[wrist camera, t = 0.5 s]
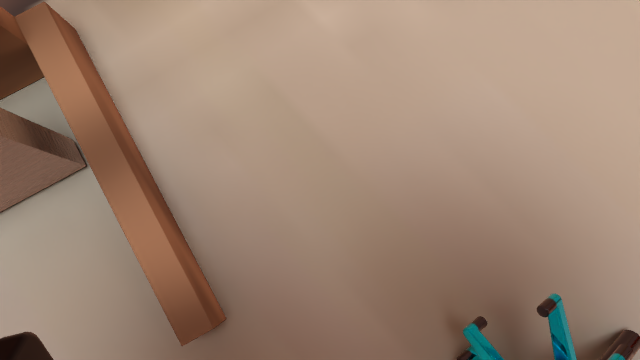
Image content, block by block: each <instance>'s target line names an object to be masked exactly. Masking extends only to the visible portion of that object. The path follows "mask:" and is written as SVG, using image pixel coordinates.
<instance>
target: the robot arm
mask: <svg viewBox="0 0 640 360" xmlns="http://www.w3.org/2000/svg"><path fill="white" fill-rule="evenodd" d="M0 360H53V358H52V357H51V355H50V354H49V352H48V351H47V349H46V348H45V346H44V345H43V344H42V342H41V341H40V339H39V338H38V337H37V335H35V334H34V333H31V332H23V333H19V334H15V335H11V336H7V337H4V338H1V339H0Z"/></svg>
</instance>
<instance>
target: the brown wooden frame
mask: <svg viewBox="0 0 640 360" xmlns="http://www.w3.org/2000/svg"><path fill="white" fill-rule="evenodd" d="M43 77H45V78H46V80H47V82H48V84H49V86H50V88H51V90H52V92H53V94H54V96H55V98H56V100H57V102H58V104H59V106H60V108H61V110H62V112H63V114H64V116H65V118H66V120H67V122H68V124H69V126H70V128H71V129H72V131H73V133H74V135H75V137H76V139H77V141H78V143H79V145H80V147H81V149H82V151H83V153H84V155H85V157H86V159H87V161H88V163H89V165H90V167H91V169H92V171H93V173H94V175H95V177H96V179H97V181H98V183H99V184H100V186H101V188H102V190H103V192H104V194H105V196H106V198H107V200H108V202H109V204H110V206H111V208H112V210H113V212H114V214H115V216H116V218H117V220H118V222H119V224H120V226H121V228H122V230H123V232H124V234H125V236H126V238H127V240H128V241H129V243H130V245H131V247H132V249H133V251H134V253H135V255H136V257H137V259H138V261H139V263H140V265H141V267H142V269H143V271H144V273H145V275H146V277H147V279H148V281H149V283H150V285H151V287H152V289H153V291H154V293H155V295H156V296H157V298H158V300H159V302H160V304H161V306H162V308H163V310H164V312H165V314H166V316H167V318H168V320H169V322H170V324H171V326H172V328H173V330H174V332H175V334H176V336H177V338H178V340H179V342H180V344H181V346H183V345H185V344H187V343H189V342H190V341H192V340H194V339H196V338H198V337H199V336H201V335H203V334H205V333H206V332H208V331H210V330H212V329H214V328H215V327H216V326H217V325H219V324H220V323H221V322H223V321H224V320H225V319H226V317H225V315H224V313H223V311H222V309H221V308H220V306H219V304H218V302H217V300H216V298H215V296H214V294H213V292H212V290H211V288H210V286H209V285H208V283H207V281H206V279H205V277H204V275H203V273H202V271H201V269H200V267H199V265H198V263H197V262H196V260H195V258H194V256H193V254H192V252H191V250H190V248H189V246H188V244H187V242H186V240H185V239H184V237H183V235H182V233H181V231H180V229H179V227H178V225H177V223H176V221H175V219H174V217H173V216H172V214H171V212H170V210H169V208H168V206H167V204H166V202H165V200H164V198H163V196H162V195H161V193H160V191H159V189H158V187H157V185H156V183H155V181H154V179H153V177H152V175H151V173H150V172H149V170H148V168H147V166H146V164H145V162H144V160H143V158H142V156H141V154H140V152H139V150H138V149H137V147H136V145H135V143H134V141H133V139H132V137H131V135H130V133H129V131H128V129H127V127H126V126H125V124H124V122H123V120H122V118H121V116H120V114H119V112H118V110H117V108H116V106H115V104H114V103H113V101H112V99H111V97H110V95H109V93H108V91H107V89H106V87H105V85H104V83H103V81H102V80H101V78H100V76H99V74H98V72H97V70H96V68H95V66H94V64H93V62H92V60H91V58H90V57H89V55H88V53H87V51H86V49H85V47H84V45H83V43H82V41H81V39H80V37H79V35H78V34H77V32H76V30H75V29H74V28H73V27H72V26H71V25H70V24H69V23H68V22H67V21H65V20H64V19H63V18H62V17H61V16H60V15H59V14H58V13H57V12H55V11H54V10H53V9H52V8H51V7H50V6H49V5H48V4H46V3H45V2H43V3H41V4H39V5H37V6H35V7H33V8H31V9H29V10H27V11H25V12H23V13H21V14H19V15H17V16H15V17H14V16H12V15H11V14H10V13H8V12H7V11H6V10H4V9H3V8H2V7H0V100H1V99H2V98H4V97H6V96H8V95H10V94H12V93H14V92H16V91H18V90H20V89H22V88H24V87H26V86H27V85H29V84H31V83H33V82H35V81H37V80H39V79H41V78H43Z"/></svg>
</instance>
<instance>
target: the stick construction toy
mask: <svg viewBox="0 0 640 360" xmlns="http://www.w3.org/2000/svg"><path fill="white" fill-rule="evenodd" d="M537 312H538V314H539V315H540V316H542V317H548V320H549V327H550V333H551V340H552V346H553V353H554V359H555V360H577V358H576V354H575V350H574V346H573V342H572V338H571V334H570V331H569V327H568V323H567V319H566V315H565V311H564V307H563V303H562V299H561V297H560V296H559V295H558V294H551V295H550V296H549V297H548V298H547V299H545V300H544V301H543V302H542V303H541V304H540V305H539V306H538V307H537ZM486 326H487V321H486V319H485V318H483V317H481V316H479V317H477V318H476V319H475V320H474V321H473V322H471V323H470V324H469V325H468V326H467V327H465V328H464V329H463V334H464V336H465V337H466V338H467V340H468V341H469V343H470V344H471V345H472V346H470V347H469V348H467V349H466V350H465V351H464V352H463V353H462V354H461V355H460V356H458V357H457V360H504V359H503V358H502V357H501V355H500V354H499V353H498V352H497V351H496V350H495V348H494V347H493V346H492V345H491V344H490V343H489V341H488V340H487V339H486V338H485V337H484V336H483V334H482V333H481V332H480V331H481V330H482V329H483V328H485V327H486ZM639 349H640V336H639V335H638V334H637V333H635V332H633V331H631V330H624V331H622V332H621V334H620V335H619V336H618V337H617V338H616V340H615V341H614V342H613V343H612V344H611V346H610V347H609V348H608V349H607V351H606V352H605V353H604V354H603V355H602V357H601V358H600V359H599V360H631V359H632V358H633V357H634V355H635V354H636V353H637V351H638V350H639Z"/></svg>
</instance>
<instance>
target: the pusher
mask: <svg viewBox="0 0 640 360" xmlns="http://www.w3.org/2000/svg"><path fill="white" fill-rule="evenodd" d="M85 166H86V165H85V163H84V161H83V159H82V157H81V155H80V153H79V151H78V149H77V147H76V145H75V143H74V141H73V140H72V139H70V138H68V137H66V136H63V135H61V134H59V133H56V132H54V131H52V130H50V129H47V128H45V127H43V126H40V125H38V124H36V123H34V122H31V121H29V120H27V119H24V118H22V117H20V116H18V115H15V114H13V113H11V112H8V111H6V110H4V109H2V108H0V212H1V211H3V210H5V209H7V208H8V207H10V206H12V205H14V204H16V203H18V202H20V201H22V200H23V199H25V198H27V197H29V196H31V195H33V194H35V193H37V192H38V191H40V190H42V189H44V188H46V187H48V186H50V185H52V184H53V183H55V182H57V181H59V180H61V179H63V178H65V177H67V176H68V175H70V174H72V173H74V172H76V171H78V170H80V169H82V168H83V167H85Z"/></svg>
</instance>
